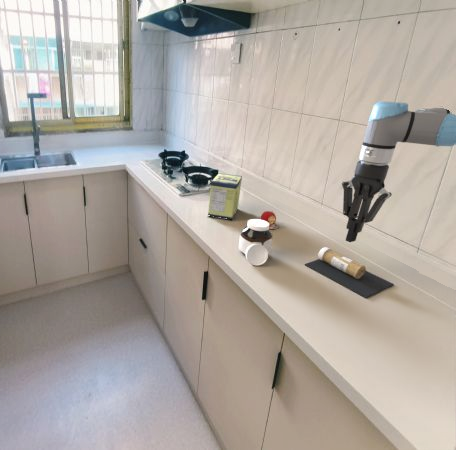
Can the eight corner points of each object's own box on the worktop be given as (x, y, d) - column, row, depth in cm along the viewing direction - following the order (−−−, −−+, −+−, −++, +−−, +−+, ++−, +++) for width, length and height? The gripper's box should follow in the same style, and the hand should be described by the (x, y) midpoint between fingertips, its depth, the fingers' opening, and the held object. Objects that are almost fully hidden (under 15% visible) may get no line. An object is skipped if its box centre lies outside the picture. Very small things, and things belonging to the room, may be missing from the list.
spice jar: (366, 263, 99) (326, 243, 110) (355, 272, 98) (316, 251, 109) (366, 273, 101) (327, 253, 112) (356, 282, 100) (318, 261, 111)
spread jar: (257, 247, 119) (262, 216, 114) (280, 262, 109) (287, 229, 105) (229, 253, 114) (233, 221, 109) (251, 269, 105) (257, 235, 100)
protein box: (237, 209, 153) (242, 175, 147) (231, 221, 140) (236, 185, 133) (215, 205, 156) (218, 172, 150) (207, 216, 143) (210, 181, 137)
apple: (280, 226, 137) (283, 211, 134) (272, 231, 131) (275, 216, 128) (262, 220, 141) (264, 205, 139) (253, 225, 136) (255, 210, 133)
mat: (393, 285, 99) (394, 283, 99) (366, 298, 92) (366, 297, 92) (331, 255, 115) (332, 254, 115) (304, 265, 108) (304, 263, 108)
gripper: (342, 158, 95) (323, 234, 104) (391, 169, 84) (364, 252, 94) (358, 156, 98) (337, 230, 108) (406, 166, 88) (379, 247, 97)
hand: (350, 240), depth 101 cm, fingers closed
